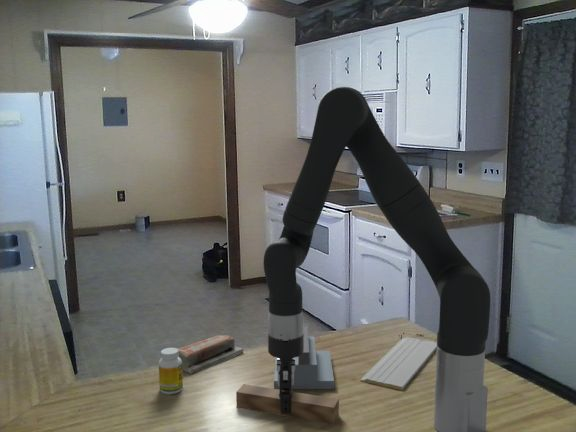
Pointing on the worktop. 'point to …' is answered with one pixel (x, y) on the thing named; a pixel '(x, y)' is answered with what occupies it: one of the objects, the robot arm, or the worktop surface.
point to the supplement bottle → (170, 371)
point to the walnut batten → (300, 404)
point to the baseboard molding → (401, 363)
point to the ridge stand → (310, 367)
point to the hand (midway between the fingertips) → (286, 403)
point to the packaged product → (208, 353)
